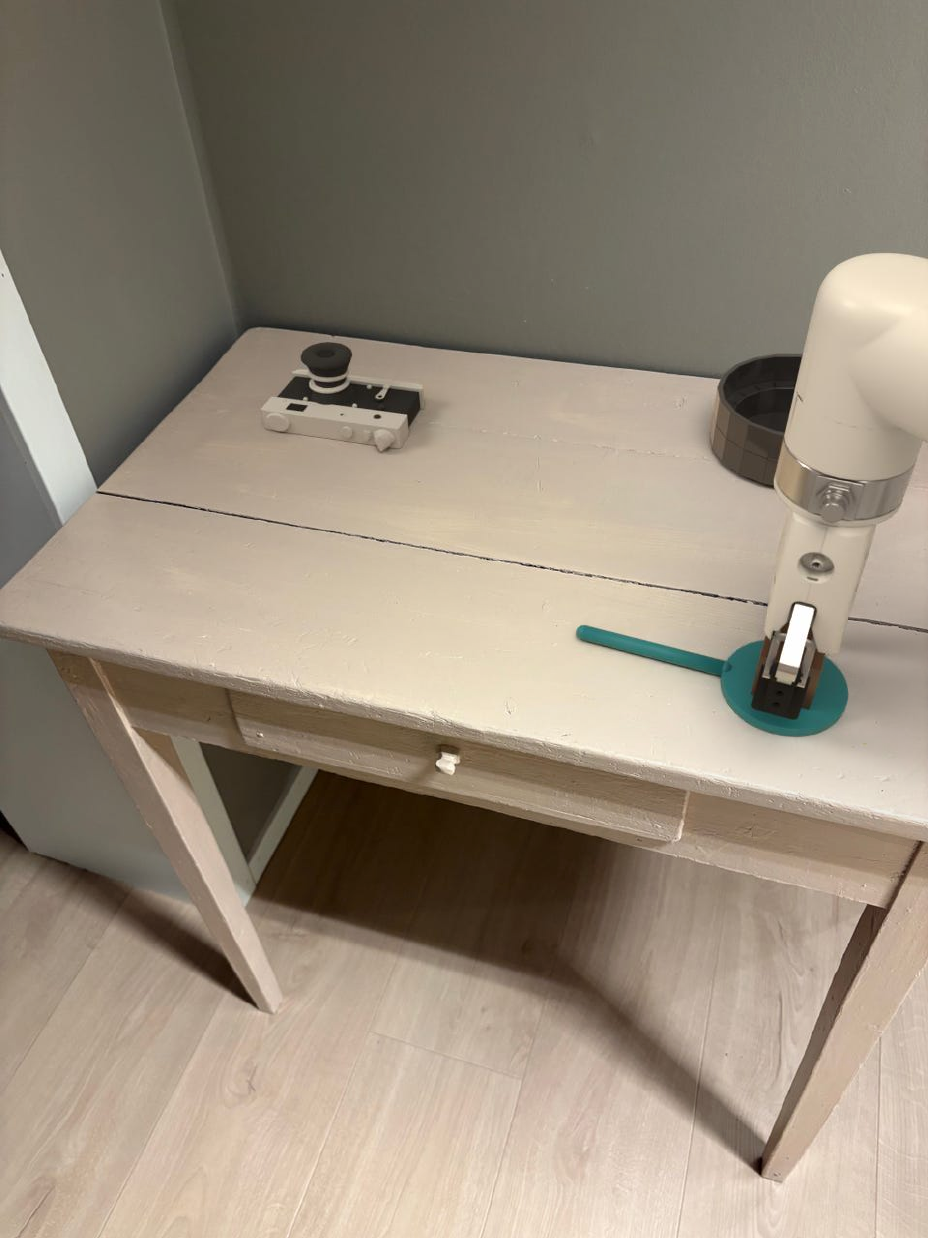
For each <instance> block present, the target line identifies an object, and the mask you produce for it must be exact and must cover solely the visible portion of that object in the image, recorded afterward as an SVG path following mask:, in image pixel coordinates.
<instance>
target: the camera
mask: <svg viewBox="0 0 928 1238" xmlns="http://www.w3.org/2000/svg"><path fill="white" fill-rule="evenodd" d="M352 358H353V352H352V349H351V348H349V346H346V345H345V344H343V343H340V342H332V341H331V342H330V341H324V342H318V343H315V344H312V345H310V346H308V347H306V348H304V350H302V352H301V354H300V362H302V364H303V365H305V366H306V367H307V369H306V368H305V369H304V368H299V369H296V370H293V371H292V372H291V373H290V374H291V378H292V379H291V380H290V381H289V382H288V383H287V384H286V385H285V387H284V388H283V389H282V391H281V392H280V393H278V395H277V396H271V397H269V399H268V400H267V401H266V402H265V403H264V404H263V406H261V408H260V411H261V417H262V421H263V425H264V429H265V430H269V431H274V432H279V433H286V434H294V435H301V436H308V437H314V438H322V439H329V440H335V441H342V442H350V443H357V444H363V445H371V446H376V447H377V449H378V450H379V451H380V452H383V451H384V450H386V449H388V448H392V449H401V448H402V447H403V445H404V444H405V443H406V441H407V439H408V438H409V436H410V431H409V426H410V425H411V423H412V422H413V420H414V418H415V417H416V415H418V412H419V411H420V410H424V409H425V407H426V405H425V392H424V385H423V384H422V383H416V382H407V381H401V380H393V379H392V380H391V379H384V378H377V377H368V376H361V375H353V374H350V371H349V366H350V364H351V360H352Z"/></svg>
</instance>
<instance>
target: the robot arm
mask: <svg viewBox="0 0 928 1238" xmlns="http://www.w3.org/2000/svg"><path fill="white" fill-rule="evenodd" d="M809 321H810V322H809V326H808V330H807V335H806V338H805V343H804V348H803V352H802V354H803V356H802V360H801V365H800V369H799V373H798V378H797V382H796V387H795V391H794V396H793V400H792V405H791V409H790V413H789V418H788V422H787V426H786V431H785V434H784V438H783V442H782V447H781V451H780V455H779V460H778V464H777V468H776V473H775V477H774V486H773V488H774V490H775V493H776V495H777V497H778V499H779V500H780V501H781V502H782V503H783V504H784V505H785V506H787V510H786V514H785V518H784V521H783V522H784V523H783V526H782V531H781V535H780V539H779V543H778V548H777V553H776V558H775V563H774V568H773V573H772V577H771V584H770V590H769V596H768V602H767V609H766V615H765V621H764V629H763V632H764V634H765V636H767V637H768V638H769V639H770V640H771V637H773V639H772V643H771V646H770V650H769V654H768V657H767V661H766V665H763V664H762V665H761V669H760V672H759V676H758V680H757V684H756V688H755V691H754V695H753V699H752V703H751V707H752V708H753V709H755V710H758V711H762V712H766V713H769V714H773V715H776V716H780V717H784V718H787V719H791V720H796V719H798V717H799V714H800V710H801V707H802V704H803V701H804V698H805V695H806V692H807V689H808V685H809V682H810V678H811V677H809V676H808V674H809V670H810V667H811V663H812V659H813V656H814V652H815V649H816V647H817V650H818V652H821V653H825V655H829V656H832V655H833V654H836V653H837V652H838V651H839V650H840V647H841V644H842V639H843V636H844V633H845V630H846V627H847V623H848V621H849V617H850V615H851V611H852V607H853V604H854V601H855V598H856V595H857V592H858V589H859V587H860V583H861V580H862V577H863V573H864V570H865V566H866V565H867V561H868V558H869V554H870V551H871V547H872V543H873V540H874V536H875V532H876V528H877V525H879V524H881V523H884V522H886V521H888V520H889V519H891V518H892V517H894V516H895V515H896V514H897V513H898V512H899V510H900V508H901V506H902V504H903V501H904V497H905V495H906V492H907V489H908V486H909V483H910V481H911V477H912V475H913V472H914V469H915V466H916V463H917V460H918V456H919V453H920V451H921V448H922V445H923V443H926V444H928V258H926V257H922V256H916V255H912V254H904V253H898V252H897V253H896V252H895V253H894V252H875V253H873V252H872V253H866V254H861V255H857V256H853V257H850V258H848V259H845V260H844V261H842V262H840V263H839V264H837V265H836V266H835V267H833V268H832V269H831V270H830V271H829V272H828V273H827V274H826V276H825V277H824V279H823V280H822V282H821V284H820V285H819V288H818V291H817V293H816V297H815V301H814V305H813V309H812V313H811V318H810V320H809ZM787 622H790V624H789V628H788V632H787V633H785V632H781V628H782V627H783V626H784V625H785V624H786V623H787ZM810 627H811V628H812V632H813V635H812V639H809V638H807V636H808V632H809V628H810ZM780 642H784V646H783V650H782V654H781V657H780V661H779V663H778V662H775V659H776V655H777V651H778V648H779V644H780ZM804 648H806V652H805V655H804V659H803V663H802V666H801V668H799V666H800V662H801V659H802V655H803V651H804ZM774 662H775V664H774Z"/></svg>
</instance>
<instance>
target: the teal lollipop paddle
mask: <svg viewBox="0 0 928 1238" xmlns="http://www.w3.org/2000/svg"><path fill="white" fill-rule="evenodd" d="M575 631H576V632H575V633H576V636H577V638H578V639H579V640H581V641H584V642H589V643H593V644H597V645H600V646H604V647H608V648H613V649H616V650H620V651H624V652H628V653H631V654H635V655H639V656H642V657H647V658H650V659H654V660H658V661H661V662H666V663H670V664H673V665H677V666H681V667H685V668H688V669H692V670H696V671H700V672H704V673H708V674H712V675H715V676H719V677H720V687H721V692H722V695H723V698H724V700H725V701H726V703H727V705H728V706H729V708H730V709H731V710H732V711H733V712H734V713H735V714H736V715H737V716H738V717H739V718H741V720H743V721H745V722H746V723H747V724H749V725H751V726H753V727H755V728H757V729H759V730H761V731H764V732H767V733H770V734H774V735H778V736H784V737H806V736H812V735H816V734H819V733H822V732H824V731H826V730H828V729H829V728H831V727H832V726H834V725H835V724H836V723H838V721H839V720H840V719H841V718H842V716H843V714H844V712H845V710H846V707H847V704H848V701H849V686H848V683H847V681H846V677H844V674H843V672H842V671H841V670H840V668H839V667H838V666H837V665H836V664H835V663H834V662H833V661H832V660H831V659H830V658H829V657H828V656H826V655H825V658H824V663H823V667H822V671H821V675H820V678H819V681H818V684H817V687H816V691H815V694H814V697H813V700H812V703H811V707H810V709H809V710H808V709H804V708H801V710H800V714H799V717H798V719H796V720H791V719H787V718H784V717H780V716H776V715H773V714H769V713H766V712H762V711H758V710H755V709H753V708H752V707H751V703H752V699H753V695H751V690H752V686H753V681H754V677H755V673H756V669H757V665H758V661H759V657H760V653H761V650H762V646H763V643H764V639H762V640H757V641H753V642H749V643H747V644H744V645H742V646H741V647H739V648H737V649H736V650H735V651H733V652H732V653H731V655H729V656H728V658H727V659H726V660H724V659H720V658H717V657H712V656H709V655H708V656H707V655H705V654H701V653H697V652H693V651H690V650H689V651H688V650H685V649H681V648H676V647H673V646H670V645H665V644H661V643H658V642H654V641H650V640H646V639H643V638H637V637H633V636H630V635H626V634H622V633H618V632H616V631H615V632H614V631H611V630H607V629H602V628H599V627H595V626H592V625H587V624H581V625H579V626H578V627H577V628H576V630H575Z"/></svg>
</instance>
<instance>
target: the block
mask: <svg viewBox="0 0 928 1238" xmlns="http://www.w3.org/2000/svg"><path fill="white" fill-rule="evenodd" d="M789 624H790V622H787V623H786V624H785V625H784V626H783V627H782V628H781V632H785V633H787V632H788V628H789ZM812 635H813V632H812V628H811V627H810V628H809V632H808V636H807V638H809V639H812ZM772 639H773V637H771V640H770V639H769V638H768V637H767V636H766V635H765V636H764V639H763V640H764V643H763V646H762V650H761V653H760V657H759V661H758V665H757V669H756V673H755V677H754V681H753V686H752V690H751V695H754V691H755V688H756V684H757V680H758V676H759V672H760V669H761V665H762V664H763V665H766V661H767V657H768V654H769V650H770V646H771V643H772ZM783 646H784V642H780V644H779V648H778V651H777V655H776V659H775V662H778V663H779V661H780V657H781V654H782V650H783ZM805 652H806V648H804V651H803V655H802V659H801V662H800V666H799V668H801V666H802V663H803V659H804V655H805ZM825 656H826V654H825V653H821V652H818V650H817V647H816V649H815V652H814V656H813V659H812V663H811V667H810V670H809V674H808V676H809V677H811V678H810V682H809V685H808V689H807V692H806V695H805V698H804V701H803V704H802V707H801V708H804V709H808V710H809V709H810V707H811V703H812V700H813V697H814V694H815V691H816V687H817V684H818V681H819V678H820V675H821V671H822V667H823V663H824V658H825ZM775 662H774V664H775Z"/></svg>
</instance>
